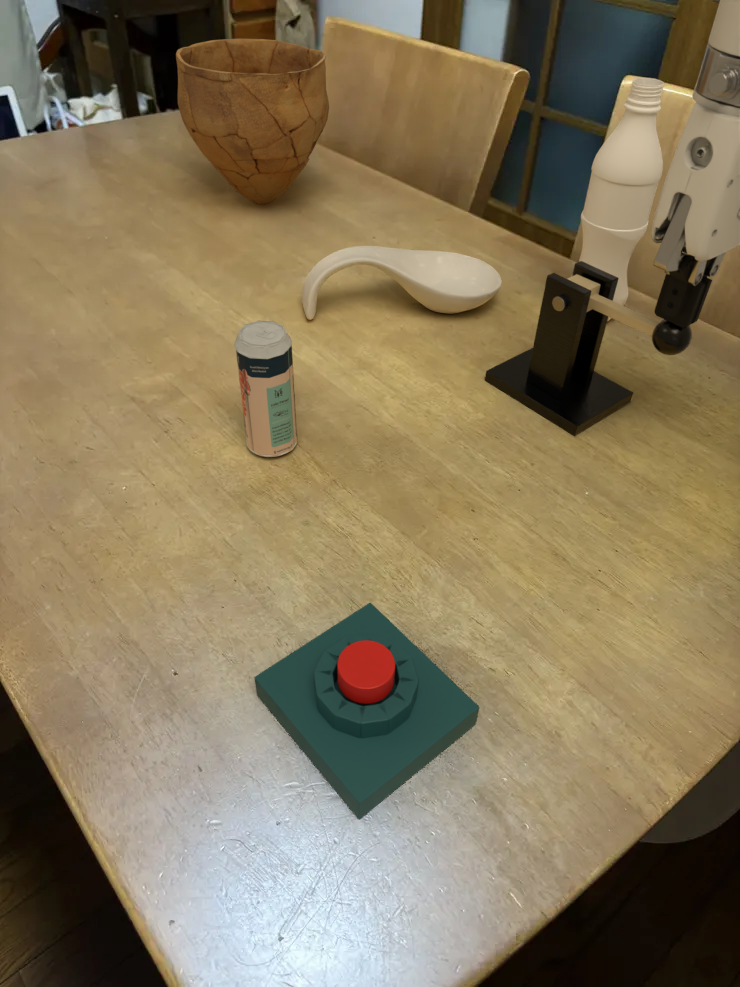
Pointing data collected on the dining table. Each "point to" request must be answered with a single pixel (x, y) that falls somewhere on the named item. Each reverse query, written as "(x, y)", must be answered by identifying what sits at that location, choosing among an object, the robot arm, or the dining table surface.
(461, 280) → the spoon rest
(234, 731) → the dining table surface
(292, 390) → the beer can
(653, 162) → the water bottle
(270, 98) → the bowl
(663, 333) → the switch lever
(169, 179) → the dining table surface
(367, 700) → the button
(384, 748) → the button block
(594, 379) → the bracket
